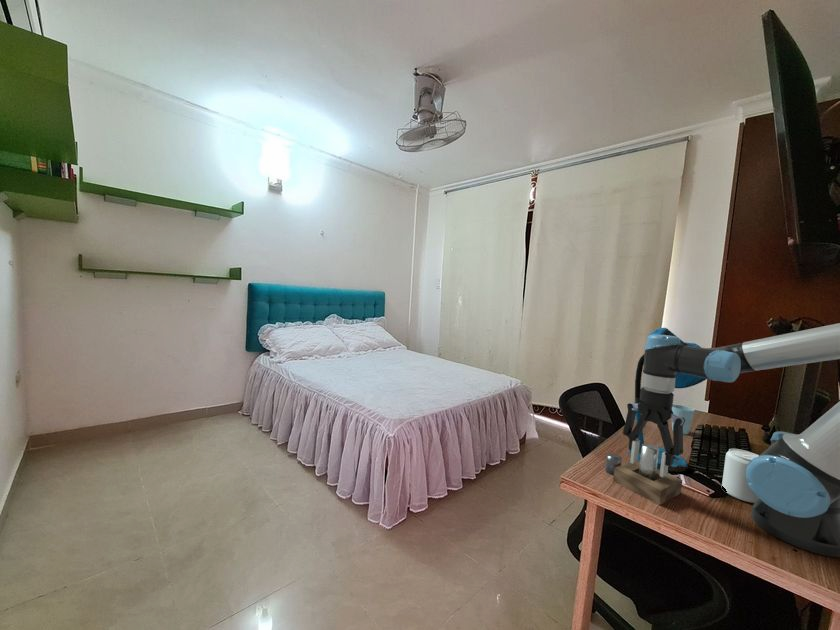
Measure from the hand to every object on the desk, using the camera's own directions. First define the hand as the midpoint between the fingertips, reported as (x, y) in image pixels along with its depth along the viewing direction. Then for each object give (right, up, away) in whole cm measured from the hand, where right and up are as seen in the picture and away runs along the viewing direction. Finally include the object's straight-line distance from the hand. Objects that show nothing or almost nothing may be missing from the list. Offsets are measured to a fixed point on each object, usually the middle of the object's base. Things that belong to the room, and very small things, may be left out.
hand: (648, 468), depth 93 cm
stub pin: (-6, -5, +8) cm, 11 cm away
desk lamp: (+18, -6, +17) cm, 25 cm away
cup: (+45, -6, +44) cm, 63 cm away
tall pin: (-1, -6, 0) cm, 6 cm away
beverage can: (+26, -7, -1) cm, 27 cm away
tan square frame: (0, -6, 0) cm, 6 cm away
